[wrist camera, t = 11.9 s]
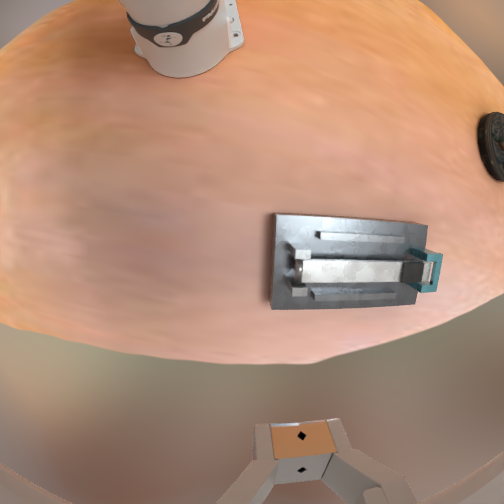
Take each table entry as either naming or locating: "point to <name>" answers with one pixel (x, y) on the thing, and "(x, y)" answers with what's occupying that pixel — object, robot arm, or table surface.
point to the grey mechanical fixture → (345, 248)
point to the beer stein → (492, 143)
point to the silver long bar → (360, 271)
